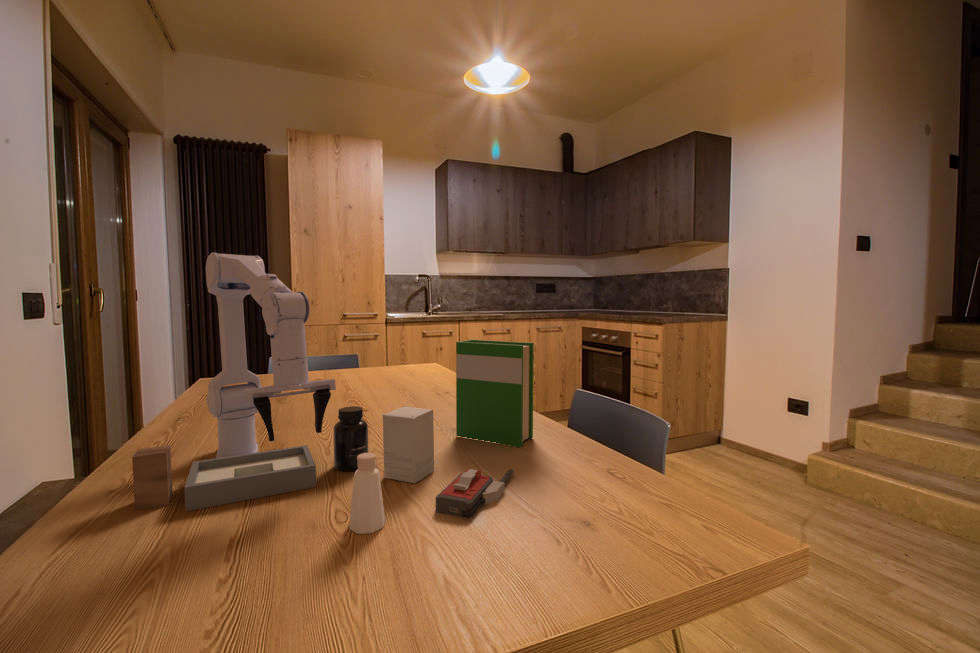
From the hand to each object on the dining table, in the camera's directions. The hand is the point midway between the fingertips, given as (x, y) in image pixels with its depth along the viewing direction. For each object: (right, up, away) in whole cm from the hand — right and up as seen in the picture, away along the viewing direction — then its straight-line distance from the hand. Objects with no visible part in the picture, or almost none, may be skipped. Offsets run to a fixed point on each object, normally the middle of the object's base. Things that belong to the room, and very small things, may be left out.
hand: (295, 436), depth 78 cm
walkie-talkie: (+32, -11, +1) cm, 34 cm away
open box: (-10, -10, +4) cm, 14 cm away
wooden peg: (-23, -11, -3) cm, 25 cm away
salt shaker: (+16, -11, -11) cm, 22 cm away
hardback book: (+36, -9, +32) cm, 49 cm away
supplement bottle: (+6, -10, +13) cm, 17 cm away
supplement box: (+18, -10, +9) cm, 23 cm away
